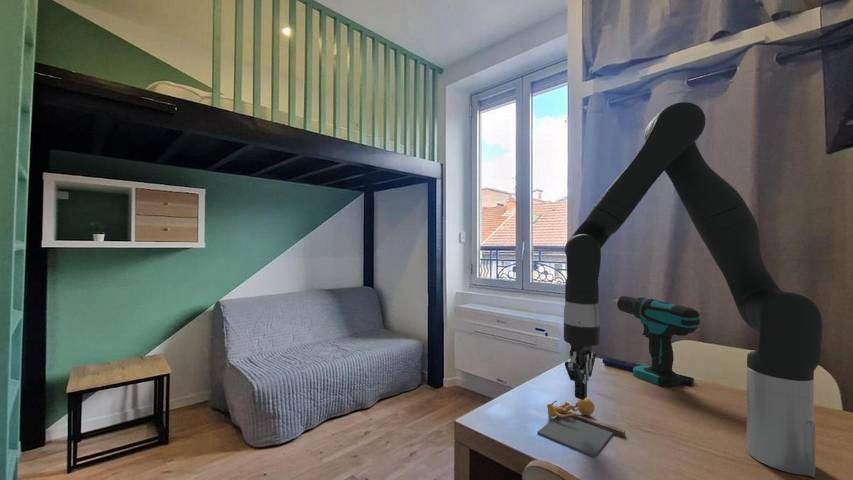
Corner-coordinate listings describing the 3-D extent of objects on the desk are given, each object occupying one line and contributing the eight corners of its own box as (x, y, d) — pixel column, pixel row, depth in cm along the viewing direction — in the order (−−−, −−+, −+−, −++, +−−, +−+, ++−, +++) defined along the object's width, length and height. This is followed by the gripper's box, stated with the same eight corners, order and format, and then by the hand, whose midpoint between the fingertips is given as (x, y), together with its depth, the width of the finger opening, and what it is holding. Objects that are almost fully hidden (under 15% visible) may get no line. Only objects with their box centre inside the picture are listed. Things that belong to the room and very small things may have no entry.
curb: (625, 435, 76) (625, 430, 76) (623, 437, 76) (623, 432, 76) (554, 410, 88) (554, 406, 88) (552, 411, 87) (552, 407, 87)
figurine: (605, 406, 82) (559, 396, 80) (600, 432, 81) (554, 422, 79) (583, 393, 90) (541, 384, 88) (579, 417, 89) (537, 408, 87)
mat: (613, 434, 77) (613, 432, 77) (594, 457, 68) (594, 455, 68) (559, 415, 85) (559, 413, 85) (537, 433, 77) (537, 431, 77)
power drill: (604, 365, 121) (604, 293, 121) (621, 362, 124) (621, 292, 125) (686, 396, 97) (687, 306, 97) (705, 390, 101) (705, 304, 101)
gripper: (588, 329, 72) (587, 413, 72) (608, 320, 81) (607, 394, 81) (552, 323, 77) (552, 401, 77) (575, 315, 86) (575, 384, 86)
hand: (580, 397), depth 79 cm, fingers closed
